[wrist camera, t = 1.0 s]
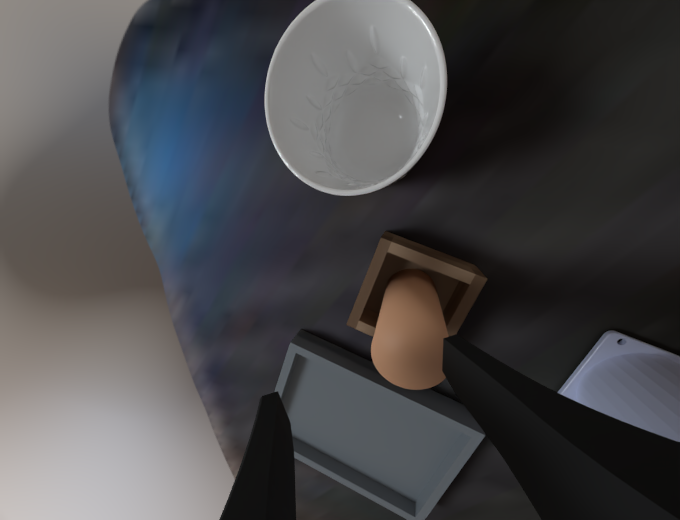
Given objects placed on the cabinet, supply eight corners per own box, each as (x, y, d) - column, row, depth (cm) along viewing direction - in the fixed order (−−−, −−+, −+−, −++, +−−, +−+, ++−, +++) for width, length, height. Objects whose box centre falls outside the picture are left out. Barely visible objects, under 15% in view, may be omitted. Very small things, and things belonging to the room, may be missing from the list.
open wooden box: (475, 265, 21) (487, 278, 17) (434, 341, 23) (438, 366, 20) (385, 230, 22) (380, 237, 19) (354, 306, 24) (346, 324, 21)
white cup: (398, 210, 21) (389, 224, 12) (313, 170, 22) (243, 154, 13) (450, 109, 19) (490, 25, 9) (352, 68, 20) (299, -45, 10)
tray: (477, 411, 24) (485, 435, 21) (419, 498, 28) (419, 526, 25) (301, 329, 26) (290, 342, 24) (271, 419, 30) (259, 438, 28)
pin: (444, 280, 21) (468, 340, 12) (423, 321, 22) (432, 402, 13) (396, 261, 21) (388, 306, 13) (378, 302, 23) (360, 368, 14)
